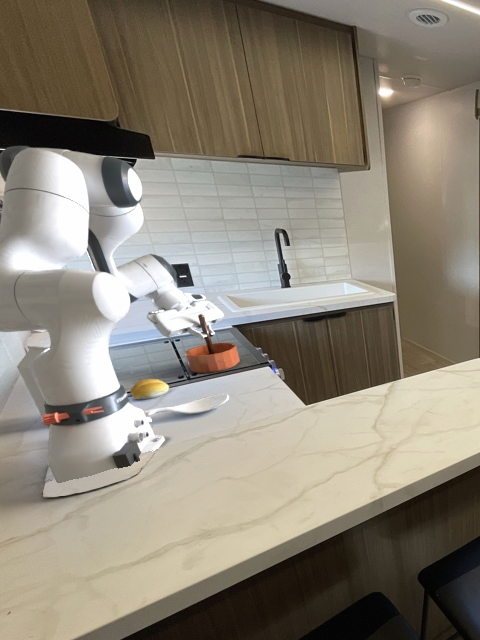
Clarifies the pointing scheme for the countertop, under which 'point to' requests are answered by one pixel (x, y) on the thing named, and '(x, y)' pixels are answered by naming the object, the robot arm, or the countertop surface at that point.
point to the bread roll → (149, 389)
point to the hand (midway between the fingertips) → (208, 336)
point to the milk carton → (28, 378)
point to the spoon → (193, 405)
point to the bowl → (212, 358)
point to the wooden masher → (205, 330)
